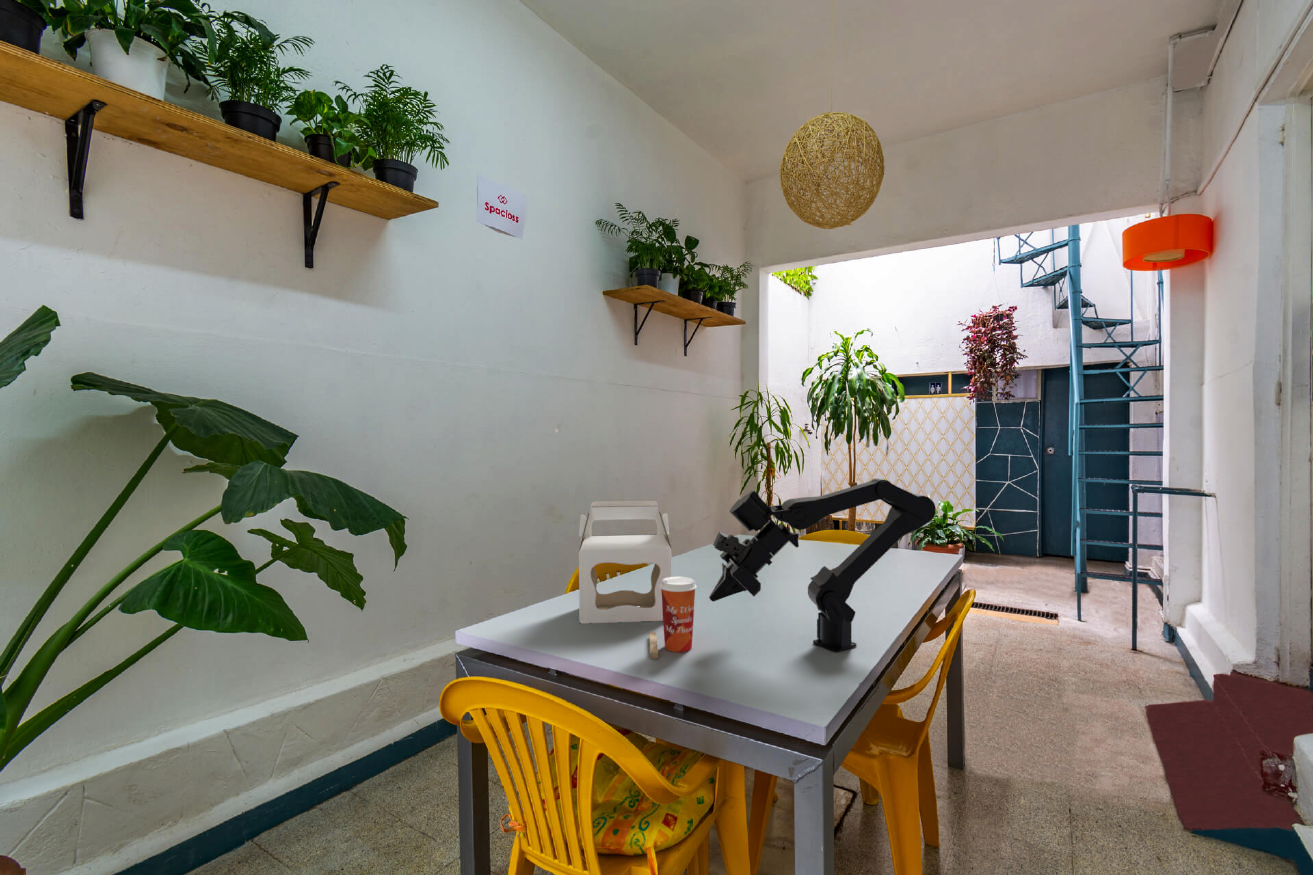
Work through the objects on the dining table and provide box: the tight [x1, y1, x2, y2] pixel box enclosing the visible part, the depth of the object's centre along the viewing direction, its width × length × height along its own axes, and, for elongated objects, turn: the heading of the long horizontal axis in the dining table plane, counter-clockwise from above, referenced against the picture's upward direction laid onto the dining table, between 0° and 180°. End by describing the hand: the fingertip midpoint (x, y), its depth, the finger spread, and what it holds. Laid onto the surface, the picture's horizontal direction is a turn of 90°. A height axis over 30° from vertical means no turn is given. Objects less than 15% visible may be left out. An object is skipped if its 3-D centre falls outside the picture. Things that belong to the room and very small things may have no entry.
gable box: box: [578, 499, 673, 625], centre depth 148 cm, size 22×13×28 cm, turn 95°
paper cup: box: [660, 576, 698, 653], centre depth 125 cm, size 8×8×14 cm
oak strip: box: [648, 631, 659, 660], centre depth 125 cm, size 12×2×1 cm, turn 2°
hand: (710, 599), depth 125 cm, fingers closed
